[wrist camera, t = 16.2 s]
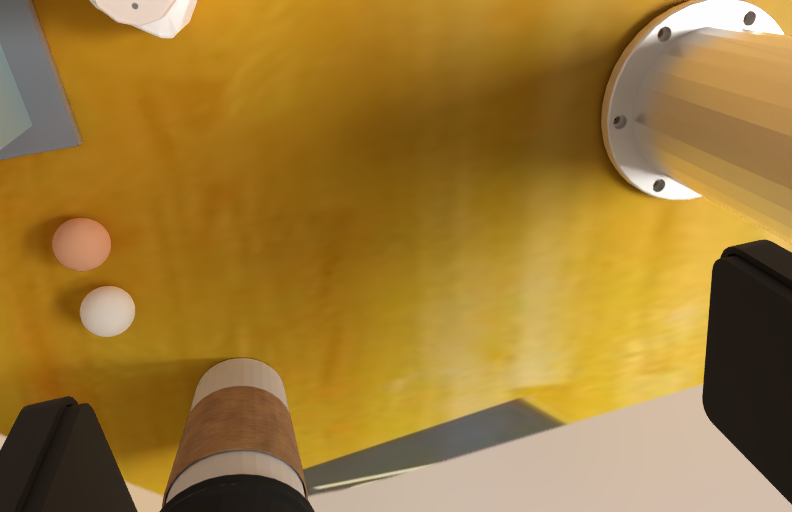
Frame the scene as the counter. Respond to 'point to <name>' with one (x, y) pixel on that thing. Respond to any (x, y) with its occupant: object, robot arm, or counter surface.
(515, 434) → the counter surface
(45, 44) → the plate
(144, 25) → the pepper shaker
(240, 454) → the coffee cup
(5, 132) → the sage green block
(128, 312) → the cream ball
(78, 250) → the terracotta ball
